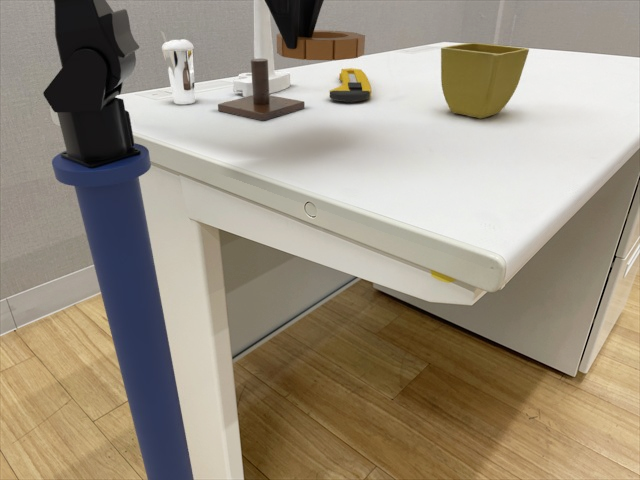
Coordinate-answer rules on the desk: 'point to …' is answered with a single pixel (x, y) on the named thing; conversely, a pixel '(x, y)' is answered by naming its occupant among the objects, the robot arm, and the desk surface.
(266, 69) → the peg
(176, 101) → the milkshake
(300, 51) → the brick ring
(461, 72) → the flower pot
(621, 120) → the desk surface
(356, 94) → the utility knife
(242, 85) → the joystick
